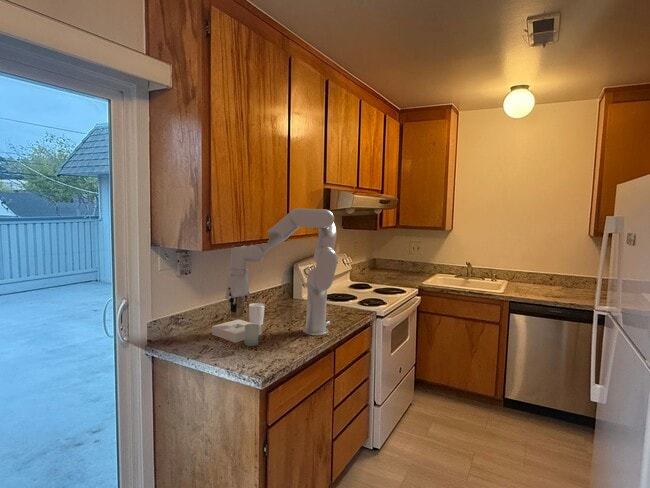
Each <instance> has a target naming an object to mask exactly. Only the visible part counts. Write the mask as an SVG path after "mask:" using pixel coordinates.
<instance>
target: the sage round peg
mask: <svg viewBox="0 0 650 488" xmlns="http://www.w3.org/2000/svg"><path fill="white" fill-rule="evenodd" d="M259 337H260V335H259V325H257V324H247V325H245V339H244V340H243V341H244V342H243V344H244V346H247V347H256V346H258V345H259Z"/></svg>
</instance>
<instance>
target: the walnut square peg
mask: <svg viewBox="0 0 650 488" xmlns="http://www.w3.org/2000/svg"><path fill="white" fill-rule="evenodd" d="M235 304H236V312H235V313H234V312H231V311H230V317H231V318H234V319H238V318H243V317H244V311H243V309H244V310H245V302H244V296H238V297H236V302H235Z"/></svg>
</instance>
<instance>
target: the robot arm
mask: <svg viewBox="0 0 650 488" xmlns="http://www.w3.org/2000/svg"><path fill="white" fill-rule="evenodd" d="M334 221H335V216H334V214H333V212H332V211H331V210H329V209H326V208H325V209H324V208H318V209H317V208H303V207H302V208H301V207H296V208H294V209H292V210H291V211H290V212H288V213H287V214H286V215H284V217H283V218H282V219H280V220H279V221H278V222H276V224H274V225H273V226H272V227H271V228H269V230H267V231H268V235H269V240H268V241H267V242H268V243H262V244H256V245H252V244H251V245H249V246H246V245H243V246H241V247H234V248H231V249H230V265H229V267H230V270H229V271H230V272H229V275H228V277H227V280H226V281H227V282H226V287H225V288H226V289H225V296H224V299H226V300H227V301H228V302H229V304H230V313H231V312H234V313H235V312H236V304H235V302H236V297H238V296H244V303H246V301H247V298H248V297H249V296H250V295H251V293H250V291H249V286H250V285H249V276H248V271H249V268H248V262H250V263H251V262H252V263H260V262H263V261H264V259H265V255H266V253H267V252H268V251H269V250H271V249H272V248H274V246H277V245H278V244H281V243H283V242H284V241H287V239H288V238H289V237H290V236H292V235H293V234H294V233H295V232H297V230H299V229H300V228H314V229H315V228H316V229H318V239H317V243H316V246H315V251H314V254H313V259H314V261H315V263H316V264H315V267H313V268H311V269H310V271H309V272H308V273H307V276H306V287H307V293H306V294H307V295H306V296H307V298H306V319H305V320H306V321H305V326H304V327H303V328H302V332H303V334H305V335H308V336H324V335H327V334H328V333H329V329H328V328H327V326H329V325H331V321H330V320H327V319H326V318H327V300H328V299H327V298H328V290H329V289H330V288H331V287H332V285H333V281H334V278H335V274H336V271H337V266H338V258H339V257H338V254H337V252H336V250H335V246H336V241H337V228H336V223H335V222H334ZM244 311H245V308H244V309H243V312H244ZM326 320H327V321H326Z"/></svg>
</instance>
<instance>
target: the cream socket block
mask: <svg viewBox="0 0 650 488" xmlns="http://www.w3.org/2000/svg"><path fill="white" fill-rule="evenodd" d="M247 324H253V323H250V321H245V320H242V319H238V318H237V319H235V320H231V321H228V322H227V321H226V322H223V323H222V322H221V323H220V324H219V323H218V324H215V325H212V327H211V335H213V336H215V337H218V338H221V339H224V340H226V341H229V342H232V343H239V342H241V341H244V339H245V325H247ZM262 331H263V330H262V325H259V336H260V335H262Z"/></svg>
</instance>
